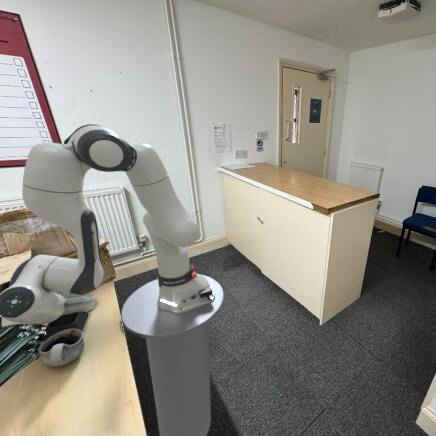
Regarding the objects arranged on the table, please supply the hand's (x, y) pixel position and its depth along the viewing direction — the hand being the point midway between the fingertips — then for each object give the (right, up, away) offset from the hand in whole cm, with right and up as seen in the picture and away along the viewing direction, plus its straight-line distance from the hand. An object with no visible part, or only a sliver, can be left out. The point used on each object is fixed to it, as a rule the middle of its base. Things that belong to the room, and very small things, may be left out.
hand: (63, 311), depth 81 cm
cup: (-3, -3, +10) cm, 11 cm away
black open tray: (0, -6, +2) cm, 6 cm away
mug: (+11, -12, -9) cm, 18 cm away
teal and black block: (0, -5, +1) cm, 5 cm away
